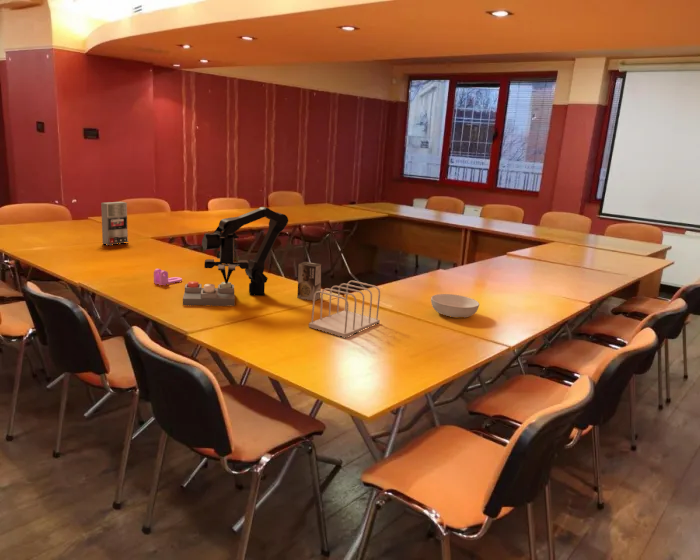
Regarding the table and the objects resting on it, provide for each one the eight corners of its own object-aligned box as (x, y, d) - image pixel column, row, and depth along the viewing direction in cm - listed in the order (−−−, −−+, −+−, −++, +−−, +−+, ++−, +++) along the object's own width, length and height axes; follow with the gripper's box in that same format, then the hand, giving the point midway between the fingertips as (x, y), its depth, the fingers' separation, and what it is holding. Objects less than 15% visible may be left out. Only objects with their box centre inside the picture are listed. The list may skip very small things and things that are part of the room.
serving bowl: (473, 325, 235) (475, 310, 233) (424, 317, 242) (426, 301, 240) (480, 312, 254) (482, 298, 252) (434, 305, 261) (436, 291, 259)
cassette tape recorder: (108, 246, 333) (107, 204, 327) (102, 244, 336) (100, 202, 330) (128, 243, 344) (127, 202, 338) (122, 242, 347) (121, 201, 341)
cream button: (214, 290, 240) (214, 284, 239) (214, 293, 236) (214, 286, 235) (204, 290, 239) (204, 283, 238) (203, 293, 235) (203, 286, 234)
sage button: (231, 288, 250) (231, 281, 250) (231, 291, 246) (231, 284, 245) (221, 288, 249) (221, 281, 249) (220, 290, 245) (221, 284, 245)
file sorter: (345, 339, 208) (348, 298, 204) (308, 328, 217) (310, 289, 213) (379, 323, 229) (383, 286, 225) (344, 314, 238) (347, 278, 234)
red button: (198, 287, 247) (198, 281, 247) (198, 290, 243) (198, 284, 242) (188, 287, 246) (188, 281, 246) (187, 290, 242) (187, 283, 241)
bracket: (161, 286, 259) (161, 271, 257) (153, 283, 262) (153, 269, 260) (184, 281, 269) (184, 267, 268) (176, 279, 272) (176, 265, 271)
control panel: (233, 294, 253) (234, 284, 252) (234, 305, 237) (234, 294, 236) (185, 294, 249) (185, 283, 247) (182, 305, 232) (182, 294, 231)
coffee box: (320, 298, 258) (322, 264, 254) (314, 301, 252) (316, 266, 248) (303, 294, 262) (305, 261, 258) (296, 297, 256) (298, 263, 252)
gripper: (248, 245, 253) (247, 278, 257) (205, 244, 249) (205, 278, 253) (249, 250, 242) (248, 285, 246) (204, 249, 238) (204, 284, 242)
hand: (226, 283), depth 247 cm, fingers closed, pressing on sage button
